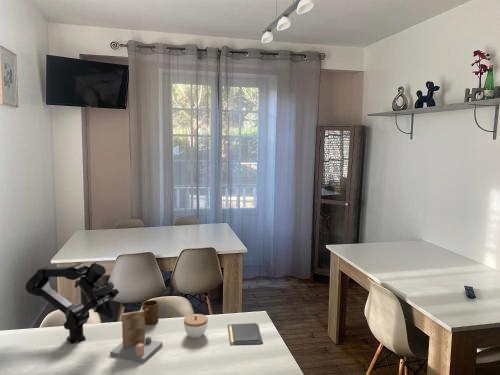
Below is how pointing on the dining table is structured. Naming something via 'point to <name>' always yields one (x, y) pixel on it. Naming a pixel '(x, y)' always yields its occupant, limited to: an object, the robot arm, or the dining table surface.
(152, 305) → the mug
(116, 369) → the dining table surface
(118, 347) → the board
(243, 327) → the grey book
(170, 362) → the dining table surface
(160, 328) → the dining table surface
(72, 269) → the robot arm
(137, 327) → the brown wooden panel
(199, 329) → the lidded jar
